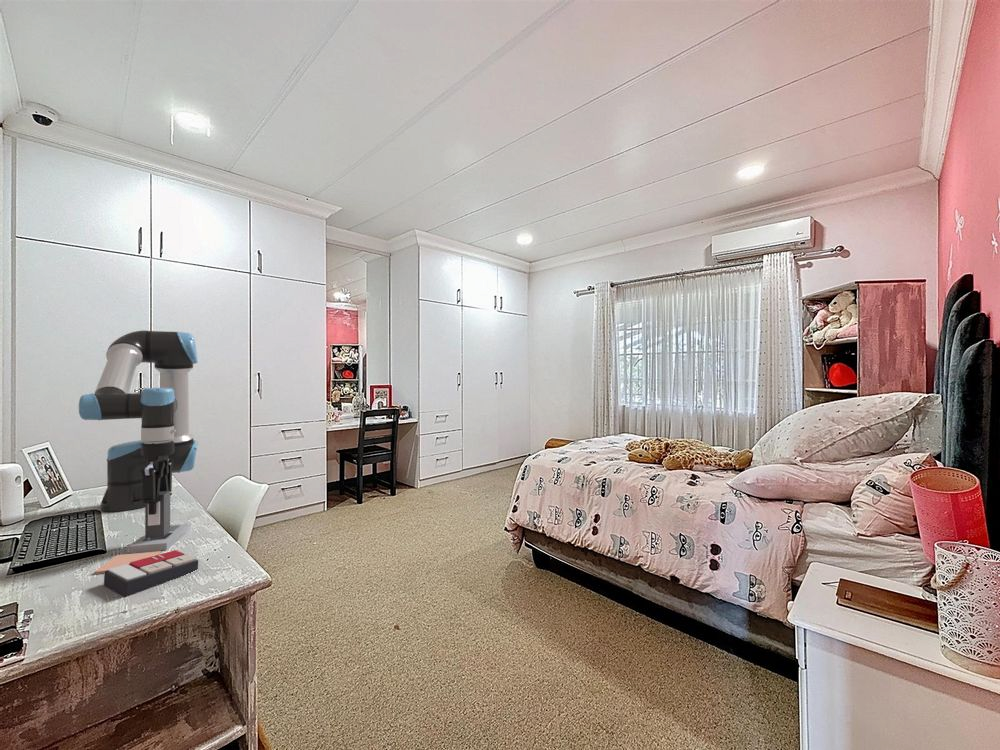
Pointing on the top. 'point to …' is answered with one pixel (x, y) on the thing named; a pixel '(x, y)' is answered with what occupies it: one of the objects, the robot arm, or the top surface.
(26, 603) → the top surface
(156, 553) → the mat
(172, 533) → the grey flat block
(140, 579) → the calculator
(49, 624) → the top surface
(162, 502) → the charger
